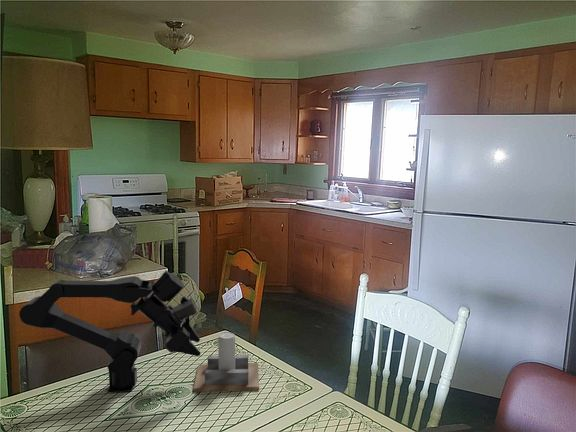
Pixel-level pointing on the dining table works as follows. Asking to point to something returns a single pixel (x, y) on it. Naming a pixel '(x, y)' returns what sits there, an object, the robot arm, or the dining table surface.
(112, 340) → the robot arm
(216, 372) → the vise
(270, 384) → the dining table surface
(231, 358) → the beverage can
